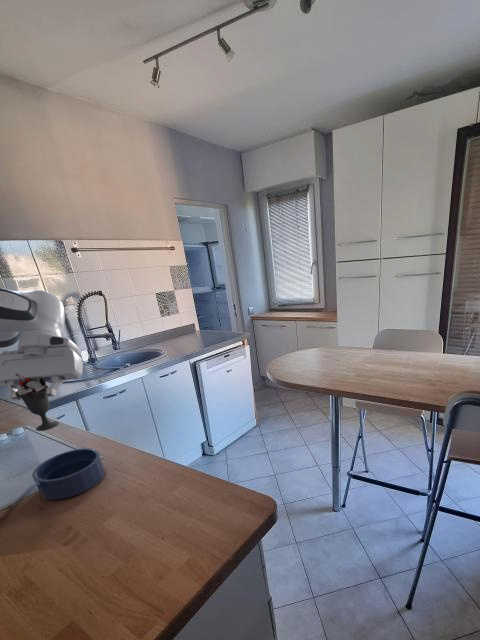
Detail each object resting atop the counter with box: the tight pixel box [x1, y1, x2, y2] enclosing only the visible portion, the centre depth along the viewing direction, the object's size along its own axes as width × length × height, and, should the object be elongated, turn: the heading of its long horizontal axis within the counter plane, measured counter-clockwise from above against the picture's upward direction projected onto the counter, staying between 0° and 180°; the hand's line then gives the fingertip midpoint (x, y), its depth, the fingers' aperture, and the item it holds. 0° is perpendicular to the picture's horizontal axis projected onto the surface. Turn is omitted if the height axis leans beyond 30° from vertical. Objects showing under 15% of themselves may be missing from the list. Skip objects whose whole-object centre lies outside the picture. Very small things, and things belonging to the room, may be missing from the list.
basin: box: [31, 447, 106, 501], centre depth 87 cm, size 15×15×6 cm
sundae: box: [15, 374, 60, 432], centre depth 82 cm, size 7×7×15 cm
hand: (33, 397), depth 81 cm, fingers closed on sundae, 6 cm apart
